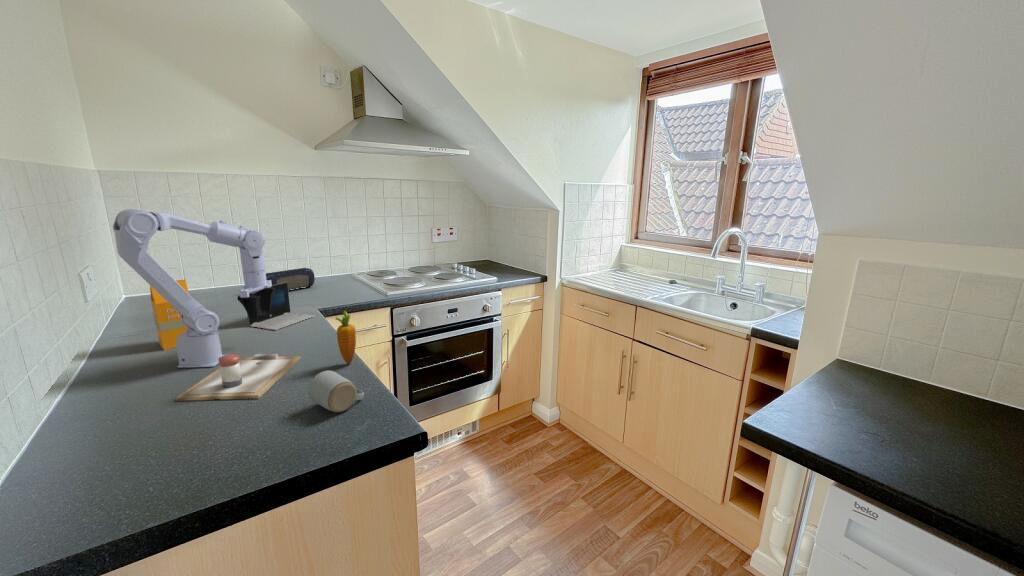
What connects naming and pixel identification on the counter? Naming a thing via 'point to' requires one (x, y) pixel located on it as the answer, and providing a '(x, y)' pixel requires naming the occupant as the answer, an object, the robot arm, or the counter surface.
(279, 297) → the laptop
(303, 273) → the portable speaker
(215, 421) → the counter surface
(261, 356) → the clipboard
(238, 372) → the marker
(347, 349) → the carrot
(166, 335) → the orange juice
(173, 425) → the counter surface
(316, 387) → the ceramic mug
